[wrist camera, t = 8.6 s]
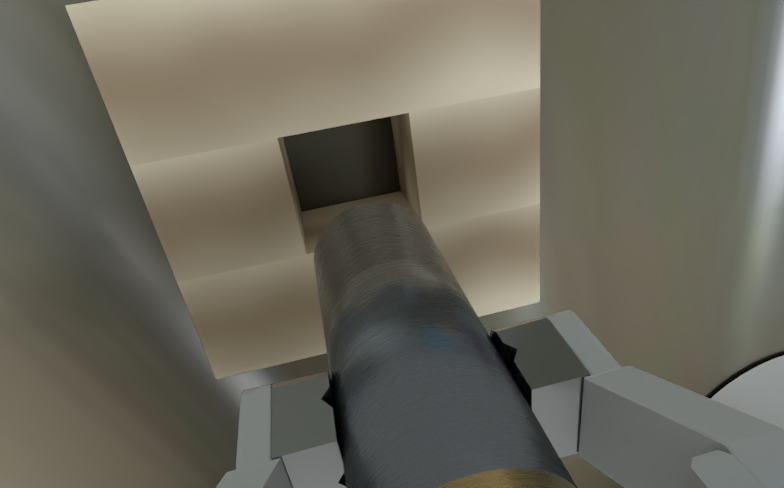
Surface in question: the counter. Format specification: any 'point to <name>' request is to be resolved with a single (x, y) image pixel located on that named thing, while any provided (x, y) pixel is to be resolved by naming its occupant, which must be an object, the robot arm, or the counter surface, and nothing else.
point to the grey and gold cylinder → (418, 366)
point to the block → (311, 113)
